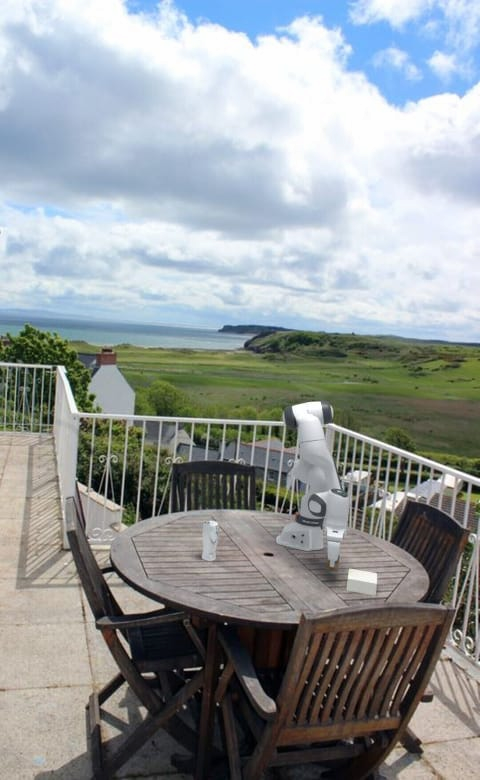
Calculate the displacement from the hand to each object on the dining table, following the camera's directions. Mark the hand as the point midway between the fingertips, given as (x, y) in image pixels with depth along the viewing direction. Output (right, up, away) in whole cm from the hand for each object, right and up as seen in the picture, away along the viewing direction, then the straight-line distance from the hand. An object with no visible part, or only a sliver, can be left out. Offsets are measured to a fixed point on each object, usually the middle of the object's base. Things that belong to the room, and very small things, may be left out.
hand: (332, 563), depth 228 cm
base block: (+10, -8, -7) cm, 14 cm away
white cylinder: (-50, -1, +9) cm, 51 cm away
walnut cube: (0, -2, 0) cm, 2 cm away
